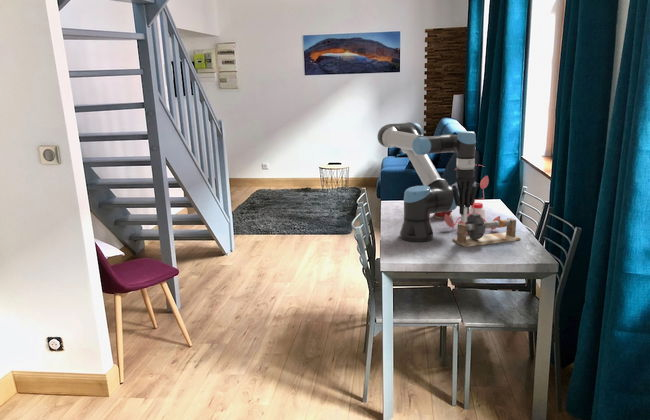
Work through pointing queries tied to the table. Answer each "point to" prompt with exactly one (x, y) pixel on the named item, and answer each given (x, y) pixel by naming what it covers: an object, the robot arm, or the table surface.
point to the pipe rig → (488, 238)
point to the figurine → (483, 185)
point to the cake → (442, 214)
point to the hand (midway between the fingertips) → (463, 221)
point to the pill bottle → (478, 209)
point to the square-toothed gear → (476, 226)
